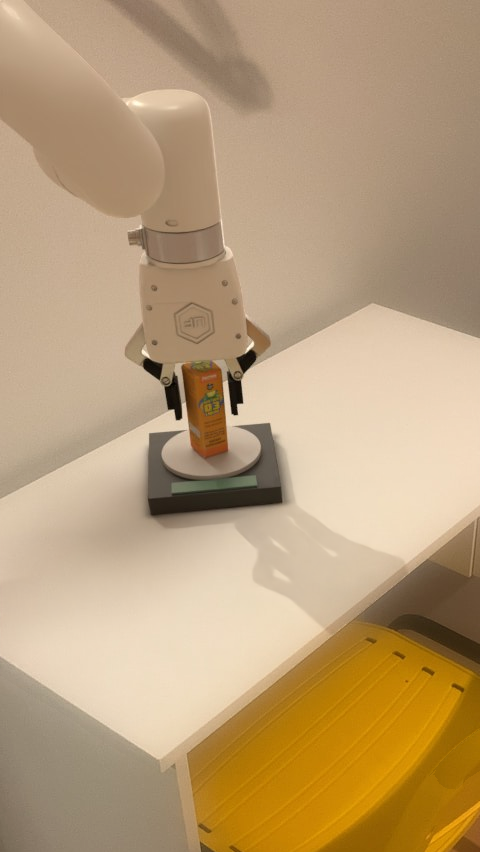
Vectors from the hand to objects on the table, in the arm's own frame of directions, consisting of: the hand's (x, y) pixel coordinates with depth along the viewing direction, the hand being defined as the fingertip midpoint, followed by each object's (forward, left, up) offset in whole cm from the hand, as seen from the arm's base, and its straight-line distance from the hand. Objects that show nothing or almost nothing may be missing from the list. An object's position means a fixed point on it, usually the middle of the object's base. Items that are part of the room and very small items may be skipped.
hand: (206, 410), depth 103 cm
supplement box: (0, 0, -5) cm, 5 cm away
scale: (0, -1, -7) cm, 7 cm away
